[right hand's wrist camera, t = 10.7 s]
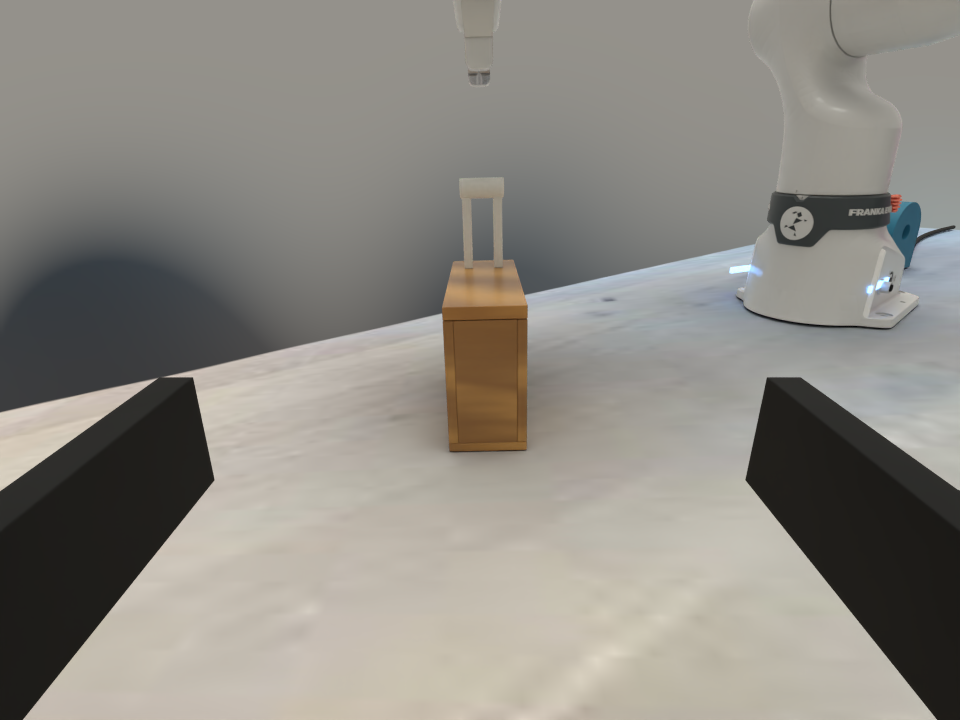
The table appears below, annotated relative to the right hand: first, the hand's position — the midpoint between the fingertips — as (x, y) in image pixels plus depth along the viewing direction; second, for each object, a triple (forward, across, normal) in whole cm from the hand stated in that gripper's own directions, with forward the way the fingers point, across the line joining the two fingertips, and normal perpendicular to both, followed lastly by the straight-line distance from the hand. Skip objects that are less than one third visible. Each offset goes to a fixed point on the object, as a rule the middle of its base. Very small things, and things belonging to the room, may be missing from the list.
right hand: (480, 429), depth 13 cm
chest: (+29, -1, +14) cm, 32 cm away
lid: (+30, 0, +4) cm, 30 cm away
